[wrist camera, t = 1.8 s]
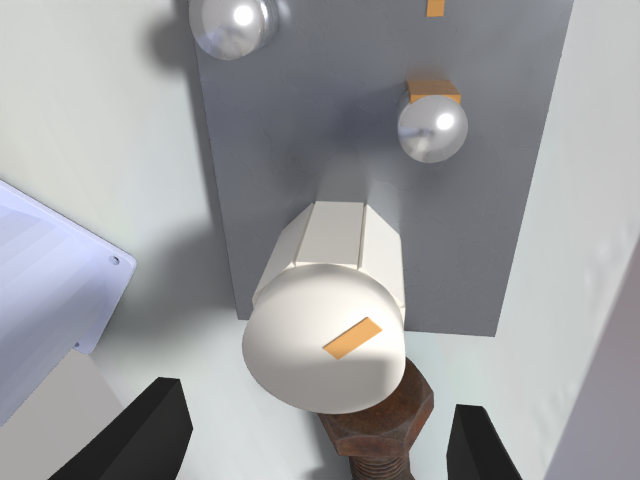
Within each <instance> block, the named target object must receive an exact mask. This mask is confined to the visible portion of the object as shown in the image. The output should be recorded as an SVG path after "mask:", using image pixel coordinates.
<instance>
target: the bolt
mask: <svg viewBox="0 0 640 480" xmlns="http://www.w3.org/2000/svg"><path fill="white" fill-rule="evenodd" d="M433 408H434V394H433V391H432V389H431V388H430V386H429V384H428V383H427V381H426V379H425V378H424V377H423V375H422V374H421V373H420V371H419V370H418V369H417V367H416V366H415V365H414V364H413V363H412V361H410V360H409V359H408V358H407V357H406V356H405V369H404V374H403V376H402V379H401V381H400V383H399V384H398V386H397V388H396V389H395V390H394V391H393V392H392V393H391V394H390V395H389V396H388V397H387V398H385V399H384V400H383V401H381V402H379V403H378V404H376V405H374V406H372V407H369V408H366V409H364V410H360V411H356V412H351V413H344V414H325V413H318V415H319V417H320V419H321V421H322V423H323V425H324V427H325V429H326V431H327V433H328V435H329V437H330V439H331V441H332V443H333V445H334V447H335V449H336V451H337V453H338V455H339V456H349V462H350V467H351V472H352V476H353V480H415V479H414V477H413V476H412V474H411V473H410V461H409V450H410V449H411V447H412V445H413V443H414V442H415V440H416V438H417V437H418V435H419V433H420V431H421V430H422V428H423V426H424V424H425V422H426V421H427V419H428V417H429V415H430V414H431V412H432V410H433Z"/></svg>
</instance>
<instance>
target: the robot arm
mask: <svg viewBox="0 0 640 480" xmlns="http://www.w3.org/2000/svg"><path fill="white" fill-rule="evenodd" d="M114 256H115V257H117V258H118V260H119V261H118V260H116V259H115V258H114ZM136 267H137V262H136V260H135V259H134V258H133V257H132V256H131V255H129V254H128V253H126V252H124V251H122V250H121V249H119V248H117V247H115V246H114V245H112V244H110V243H109V242H107V241H105V240H103V239H102V238H100V237H98V236H96V235H95V234H93V233H91V232H90V231H88V230H86V229H84V228H83V227H81V226H79V225H78V224H76V223H74V222H72V221H71V220H69V219H67V218H65V217H64V216H62V215H60V214H59V213H57V212H55V211H53V210H52V209H50V208H48V207H46V206H45V205H43V204H41V203H40V202H38V201H36V200H34V199H33V198H31V197H29V196H27V195H26V194H24V193H22V192H21V191H19V190H17V189H15V188H14V187H12V186H10V185H8V184H7V183H5V182H3V181H2V180H0V428H1V427H2V426H3V425H4V424H5V423H6V422H7V420H8V419H9V418H10V417H11V416H12V415H13V414H14V413H15V412H16V410H17V409H18V408H19V407H20V406H21V405H22V404H23V402H24V401H25V400H26V399H27V398H28V397H29V396H30V395H31V394H32V392H33V391H34V390H35V389H36V388H37V387H38V386H39V385H40V383H41V382H42V381H43V380H44V379H45V378H46V377H47V376H48V374H49V373H50V372H51V371H52V370H53V369H54V368H55V367H56V365H57V364H58V363H59V362H60V361H61V360H62V359H63V358H64V356H65V355H66V354H67V353H68V352H69V351H70V350H71V349H72V348H73V349H75V350H77V351H79V352H81V353H84V354H89V353H91V352H92V351H93V350H94V348H95V347H96V345H97V343H98V341H99V339H100V337H101V335H102V333H103V331H104V329H105V327H106V325H107V324H108V322H109V320H110V318H111V316H112V314H113V312H114V310H115V308H116V306H117V304H118V302H119V300H120V298H121V296H122V295H123V293H124V291H125V289H126V287H127V285H128V283H129V281H130V279H131V277H132V275H133V273H134V271H135V269H136ZM192 431H193V426H192V422H191V419H190V415H189V411H188V408H187V404H186V400H185V396H184V393H183V389H182V385H181V382H180V379H175V378H164V377H158V378H157V379H156V380H155V381H154V382H153V383H152V384H150V385H149V386H148V387H147V388H146V389H145V390H144V391H143V392H142V393H141V394H140V395H139V396H138V397H137V398H136V399H135V400H134V401H133V402H132V403H131V404H130V405H129V406H128V407H127V408H126V409H125V410H124V411H123V412H121V413H120V414H119V416H117V417H116V418H115V419H114V420H113V421H112V422H111V423H110V424H109V425H108V426H107V427H106V428H105V429H104V430H102V431H101V432H100V433H99V434H98V435H97V436H96V437H95V438H94V439H93V440H92V441H91V442H90V443H89V444H87V446H86V447H84V448H83V449H82V450H81V451H80V452H79V453H78V454H77V455H75V456H74V457H73V458H72V459H71V460H69V461H68V462H67V463H66V464H65V465H64V466H63V467H61V468H60V469H59V470H58V471H57V472H56V473H54V474H53V475H52V476H51V477H50V478H49V479H48V480H175V479H176V477H177V474H178V472H179V470H180V467H181V464H182V462H183V459H184V456H185V453H186V450H187V447H188V443H189V440H190V437H191V434H192ZM446 458H447V472H448V480H523V479H522V478H521V476H520V474H519V473H518V471H517V469H516V467H515V466H514V464H513V462H512V460H511V458H510V456H509V455H508V453H507V451H506V449H505V447H504V445H503V444H502V442H501V440H500V438H499V436H498V434H497V432H496V430H495V428H494V426H493V424H492V422H491V420H490V418H489V416H488V414H487V411H486V410H485V409H484V408H483V407H482V406H472V405H461V404H456V408H455V414H454V419H453V424H452V429H451V434H450V439H449V444H448V449H447V454H446Z"/></svg>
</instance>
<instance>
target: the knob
mask: <svg viewBox="0 0 640 480" xmlns="http://www.w3.org/2000/svg"><path fill="white" fill-rule="evenodd" d="M363 205H364V203H358V202H326V201H316V202H315V204H313V203H311V204H310V205H309V206H308V207H307V208H306V209H305V210H304V211H303V212H301V213H300V214H299V215H298V216H297V217H296V218H295V219H294V220H293V221H292V222H291V223H290V224H289V225H287V226H286V227H285V228H284V229H283V230H282V232H281V234H280V236H279V238H278V241H277V243H276V245H275V248H274V250H273V252H272V254H271V257H270V259H269V261H268V263H267V266H266V268H265V270H264V273H263V275H262V277H261V279H260V282H259V284H258V286H257V289H256V291H255V293H254V296H253V298H252V301H253V312H252V314H251V316H250V319H249V321H248V323H247V326H246V328H245V331H244V335H243V339H242V353H243V357H244V361H245V363H246V365H247V368H248V370H249V371H250V373H251V375H252V376H253V377H254V379H255V380H256V381H257V382H258V383H259V384H260V385H261V386H262V387H263V388H264V389H265V390H266V391H267V392H269V393H270V394H271V395H273V396H274V397H276V398H277V399H279V400H281V401H283V402H285V403H287V404H289V405H292V406H294V407H297V408H300V409H303V410H307V411H311V412H317V413H325V414H344V413H351V412H356V411H360V410H364V409H366V408H369V407H372V406H374V405H376V404H378V403H379V402H381V401H383V400H384V399H385V398H387V397H388V396H389V395H390V394H391V393H392V392H393V391H394V390H395V389H396V388H397V386H398V384H399V383H400V381H401V379H402V376H403V374H404V369H405V343H404V319H405V294H404V279H403V264H402V249H401V238H400V235H399V234H398V233H397V232H396V231H395V230H394V229H393V228H391V227H390V226H389V225H388V224H387V223H386V222H385V221H384V220H383V219H382V218H381V217H380V216H379V215H378V214H377V213H376V212H375V211H374V210H373V209H372V208H371V207H370V206H369V205H368V204H367V205H366V206H364V207H363Z"/></svg>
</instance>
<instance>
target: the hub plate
mask: <svg viewBox="0 0 640 480" xmlns="http://www.w3.org/2000/svg"><path fill="white" fill-rule="evenodd" d="M573 2H574V0H188V6H189V23H190V28H191V31H192V33H193V38H194V44H195V51H196V57H197V63H198V70H199V76H200V82H201V89H202V95H203V101H204V108H205V114H206V120H207V126H208V133H209V139H210V145H211V152H212V158H213V164H214V171H215V177H216V183H217V190H218V196H219V202H220V209H221V215H222V221H223V228H224V234H225V240H226V247H227V253H228V259H229V266H230V272H231V278H232V284H233V291H234V297H235V303H236V310H237V316H238V319H239V320H249V319H250V316H251V314H252V312H253V301H252V298H253V296H254V293H255V291H256V289H257V286H258V284H259V282H260V279H261V277H262V275H263V273H264V270H265V268H266V266H267V263H268V261H269V259H270V257H271V254H272V252H273V250H274V248H275V245H276V243H277V241H278V238H279V236H280V234H281V232H282V230H283V229H284V228H285V227H286V226H287V225H289V224H290V223H291V222H292V221H293V220H294V219H295V218H296V217H297V216H298V215H299V214H300V213H301V212H303V211H304V210H305V209H306V208H307V207H308V206H309V205H310V204H311V203H313V204H315V202H316V201H326V202H358V203H364V205H363V207H364V206H366V205H367V204H368V205H369V206H370V207H371V208H372V209H373V210H374V211H375V212H376V213H377V214H378V215H379V216H380V217H381V218H382V219H383V220H384V221H385V222H386V223H387V224H388V225H389V226H390V227H391V228H393V229H394V230H395V231H396V232H397V233H398V234H399V235H400V238H401V249H402V264H403V279H404V294H405V319H404V331H415V332H430V333H445V334H459V335H474V336H489V337H495V334H496V330H497V326H498V321H499V317H500V313H501V309H502V304H503V300H504V296H505V292H506V287H507V283H508V279H509V275H510V270H511V266H512V262H513V258H514V253H515V249H516V245H517V241H518V236H519V232H520V228H521V224H522V219H523V215H524V211H525V206H526V202H527V198H528V194H529V189H530V185H531V181H532V177H533V172H534V168H535V164H536V160H537V155H538V151H539V147H540V143H541V138H542V134H543V130H544V126H545V121H546V117H547V113H548V109H549V104H550V100H551V96H552V92H553V87H554V83H555V79H556V75H557V70H558V66H559V62H560V58H561V53H562V49H563V45H564V41H565V36H566V32H567V28H568V23H569V19H570V15H571V11H572V6H573Z"/></svg>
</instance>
